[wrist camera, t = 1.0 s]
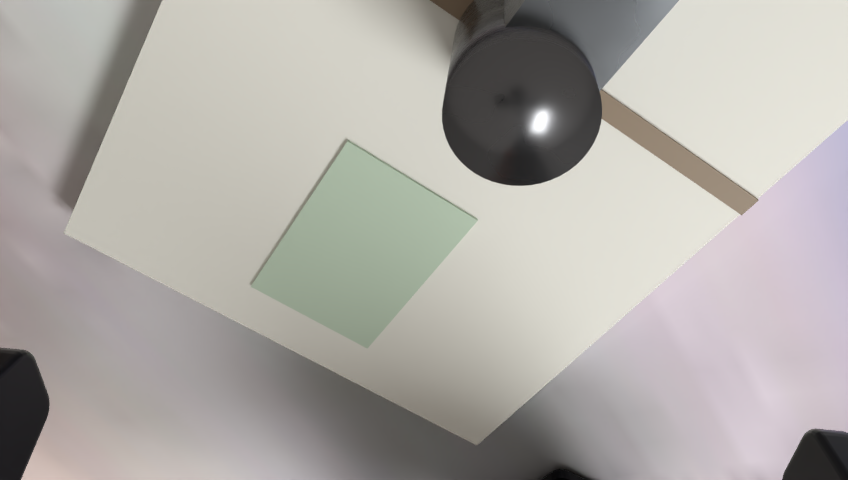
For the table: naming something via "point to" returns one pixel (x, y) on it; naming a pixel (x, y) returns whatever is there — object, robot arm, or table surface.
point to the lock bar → (536, 81)
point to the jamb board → (439, 184)
